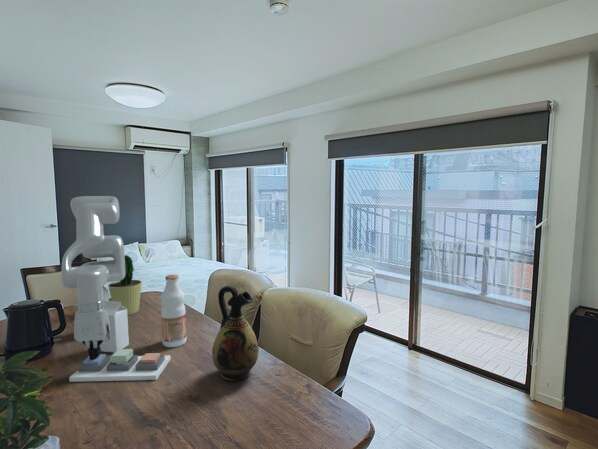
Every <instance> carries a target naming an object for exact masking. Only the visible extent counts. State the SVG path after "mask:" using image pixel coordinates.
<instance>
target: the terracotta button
mask: <svg viewBox="0 0 598 449" xmlns="http://www.w3.org/2000/svg"><path fill="white" fill-rule="evenodd" d="M160 355H161V353H160V352H152V353H151V352H150V353H149V352H148V353H146V352H145V354H143V355H142V356H143V357H142V358H141V360H140V364H150V363H156V362H157V361H158V360H159V358H160Z"/></svg>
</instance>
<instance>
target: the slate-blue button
mask: <svg viewBox="0 0 598 449" xmlns="http://www.w3.org/2000/svg"><path fill="white" fill-rule="evenodd" d="M106 356H107V355H106V354H105V353H103V354H102V353H100V355H99V356H98V357H97V358H96V359H95V360H93V359H92V360H90V358H89V356H87V357H86V358H85V359H84V360H83V361H82V362H83V365H99V364H100V363H101V362H102V361H103V360H104V359H105V358H106Z"/></svg>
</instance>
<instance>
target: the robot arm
mask: <svg viewBox="0 0 598 449" xmlns="http://www.w3.org/2000/svg"><path fill="white" fill-rule="evenodd" d="M69 205H70V209H71V212H72V214H73V215H74V218H75V219H76V221H75V222H76V225H75V226H76V227H75V228H76V229H75V230H76V234H75V236H76V240H75V241H74V242H73V243H71V245H70V246H69V247H68V248H67V249H66V251H65V252H64V254H63V256H62V260H61V284H62V286H63V287H64V288H65V289H68V290H69V289H70V290H71V289H76V295H77V302H75V303H74V307H75V308H77V310H76V311H75V314H74V319H73V321H74V322H73V338H74V340H75V341H76V342H77V343H80V344H83V345H85V348H86V349H87V350H88V352H87V353H88V357H89V358H90V360H92V359H93V360H95V359H96V358H97V357H98V356H99V355H100V354H101V346H100V345H101V343H103V342H107V341H109V340H110V337H109V334H110V324H109V318H108V313H107V310H106V308H104V304H105V302H104V301H110V298H109V297H110V295H109V294H110V292H109V291H108V290H109V289H107V288H106V287H105V286H104V285H105V284H106V283H113V282H117V281H120V280H123V279H124V277H125V255H126V254H125V246H124V240H123V238H122V237H121V236H119V235H117V234H114V235H113V234H111V235H105V233H104V225H110V224H111V225H113V224H117V223H119V221H120V216H121V215H120V203H119V200H118V198H117V197H116V196H114V195H113V196H112V195H98V196H97V195H95V196H94V195H83V196H76V197H72V198H71V200H70V204H69ZM79 255H82V256H83V257H84V258H86V259H101V258H103V259H104V258H112V259H111V260H110V259H108V260H96V261H88V262H85V263H83V264H81V265H80V266H72V263H73V261H74V260H75V258H77V256H79Z"/></svg>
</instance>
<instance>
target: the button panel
mask: <svg viewBox="0 0 598 449" xmlns="http://www.w3.org/2000/svg"><path fill="white" fill-rule="evenodd" d="M111 356H112V355H106V358H105V359H104V360H103V361H102V362H101V363H100V364H99V365H83V361H82V362H81V363H79V365H77V370H76V371H75V372H74V373H72V374H71V375H70V376H69V377H68V379H69V383H71V382H72V383H73V382H76V383H77V382H113V381H115V382H117V381H118V382H119V381H120V382H121V381H150V380H151V381H156V380H158V378H159V377H160V376H161V373H163V371H164V370H165V368H166V366H167V365H168V364H169V362H170V361H171V359H172V358H171V355H170V354H168V355H165V354H160V358H159V360H158V361H157V362H156V363H150V364H140V360H141V358H142V357H143V356H144V355H138V354H133V356H132V358H131V359H130V360H129V361H128V362H127V363H112V360H111Z"/></svg>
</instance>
